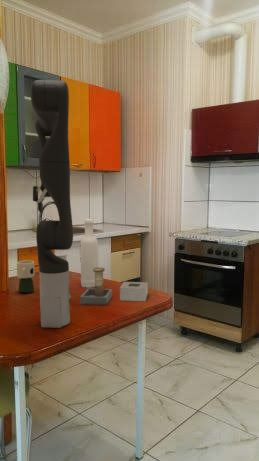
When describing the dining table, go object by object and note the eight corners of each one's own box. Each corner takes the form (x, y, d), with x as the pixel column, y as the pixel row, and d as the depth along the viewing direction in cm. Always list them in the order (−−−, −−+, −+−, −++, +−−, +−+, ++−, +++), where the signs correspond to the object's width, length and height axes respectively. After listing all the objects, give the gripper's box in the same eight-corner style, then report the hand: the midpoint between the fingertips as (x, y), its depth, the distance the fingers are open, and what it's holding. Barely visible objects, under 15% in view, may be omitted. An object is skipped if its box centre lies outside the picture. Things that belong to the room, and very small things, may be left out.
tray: (106, 305, 139) (106, 297, 139) (80, 304, 140) (80, 296, 140) (112, 296, 151) (112, 289, 150) (87, 295, 152) (87, 288, 152)
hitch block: (145, 301, 144) (145, 288, 144) (120, 300, 145) (119, 287, 145) (147, 294, 154) (147, 282, 153) (123, 293, 155) (123, 281, 155)
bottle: (78, 285, 169) (76, 219, 166) (93, 282, 174) (92, 218, 171) (86, 288, 163) (84, 220, 160) (101, 286, 167) (101, 219, 164)
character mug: (33, 295, 153) (31, 264, 151) (15, 296, 152) (14, 264, 151) (36, 288, 164) (36, 259, 162) (20, 289, 163) (19, 259, 161)
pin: (103, 300, 143) (103, 270, 142) (92, 300, 143) (92, 269, 142) (105, 297, 147) (105, 267, 146) (94, 297, 148) (94, 267, 147)
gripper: (29, 170, 142) (30, 213, 143) (65, 170, 140) (66, 213, 142) (36, 171, 149) (37, 212, 151) (71, 171, 147) (72, 212, 149)
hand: (51, 212), depth 146 cm, fingers open, 8 cm apart
